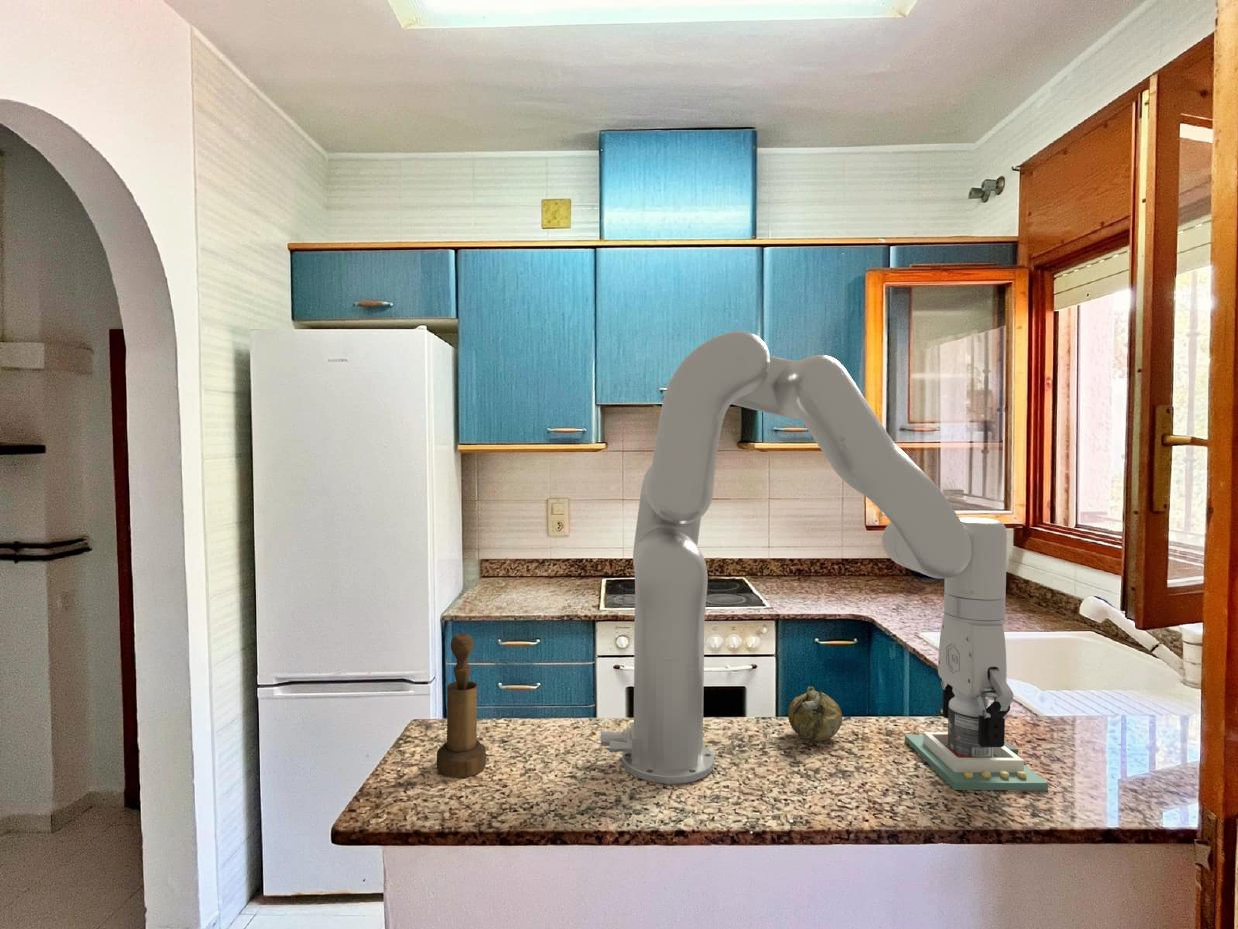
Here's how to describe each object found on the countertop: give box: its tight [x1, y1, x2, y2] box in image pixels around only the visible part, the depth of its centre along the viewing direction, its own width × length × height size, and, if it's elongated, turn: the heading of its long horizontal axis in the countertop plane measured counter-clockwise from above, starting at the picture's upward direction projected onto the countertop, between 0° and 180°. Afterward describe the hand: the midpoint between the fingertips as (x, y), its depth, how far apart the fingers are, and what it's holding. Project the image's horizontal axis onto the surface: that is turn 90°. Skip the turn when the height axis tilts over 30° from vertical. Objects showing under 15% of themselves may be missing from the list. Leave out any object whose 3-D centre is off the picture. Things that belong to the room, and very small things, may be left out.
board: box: [904, 731, 1049, 792], centre depth 97 cm, size 12×15×3 cm
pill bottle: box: [947, 688, 994, 758], centre depth 97 cm, size 6×6×10 cm
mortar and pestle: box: [436, 633, 487, 778], centre depth 94 cm, size 7×6×18 cm
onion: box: [787, 686, 843, 742], centre depth 105 cm, size 8×8×8 cm
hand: (971, 731), depth 97 cm, fingers open, 9 cm apart
